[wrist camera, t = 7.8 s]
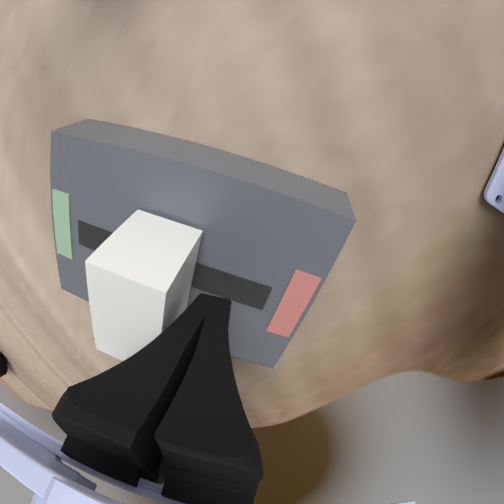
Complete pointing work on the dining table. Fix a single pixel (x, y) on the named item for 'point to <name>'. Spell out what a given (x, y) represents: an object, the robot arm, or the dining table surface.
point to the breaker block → (202, 223)
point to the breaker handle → (140, 281)
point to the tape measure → (3, 366)
